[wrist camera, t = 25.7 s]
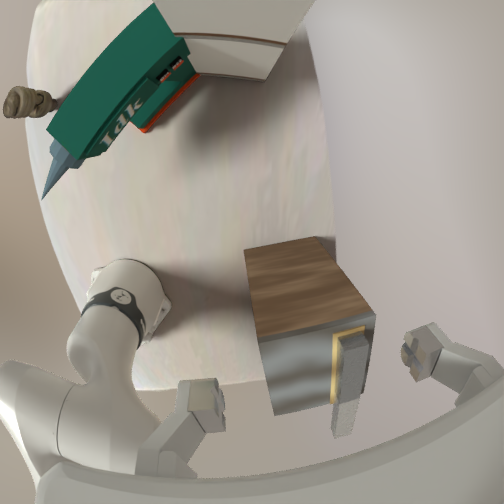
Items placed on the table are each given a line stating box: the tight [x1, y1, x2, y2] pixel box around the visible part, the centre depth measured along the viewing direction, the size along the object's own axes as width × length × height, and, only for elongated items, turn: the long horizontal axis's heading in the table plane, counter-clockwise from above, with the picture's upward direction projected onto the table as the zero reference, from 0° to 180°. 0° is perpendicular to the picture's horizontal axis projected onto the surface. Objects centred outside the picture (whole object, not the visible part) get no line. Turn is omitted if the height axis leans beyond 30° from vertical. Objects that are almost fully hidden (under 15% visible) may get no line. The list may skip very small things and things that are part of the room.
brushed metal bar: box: [331, 331, 369, 439], centre depth 33 cm, size 23×3×2 cm, turn 10°
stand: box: [244, 236, 376, 416], centre depth 44 cm, size 16×14×26 cm
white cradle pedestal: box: [153, 0, 315, 82], centre depth 22 cm, size 11×11×35 cm
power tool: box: [42, 3, 200, 199], centre depth 32 cm, size 32×7×20 cm, turn 135°
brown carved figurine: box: [3, 86, 57, 119], centre depth 30 cm, size 6×6×15 cm
